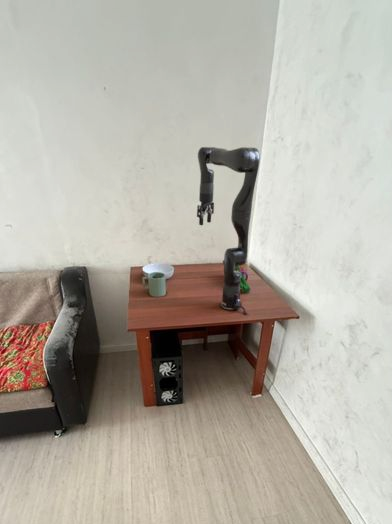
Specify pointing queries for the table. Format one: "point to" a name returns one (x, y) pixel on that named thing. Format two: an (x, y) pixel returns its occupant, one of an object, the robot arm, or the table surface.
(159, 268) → the serving bowl
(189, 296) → the table surface
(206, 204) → the robot arm
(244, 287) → the bouquet
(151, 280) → the green coffee mug
